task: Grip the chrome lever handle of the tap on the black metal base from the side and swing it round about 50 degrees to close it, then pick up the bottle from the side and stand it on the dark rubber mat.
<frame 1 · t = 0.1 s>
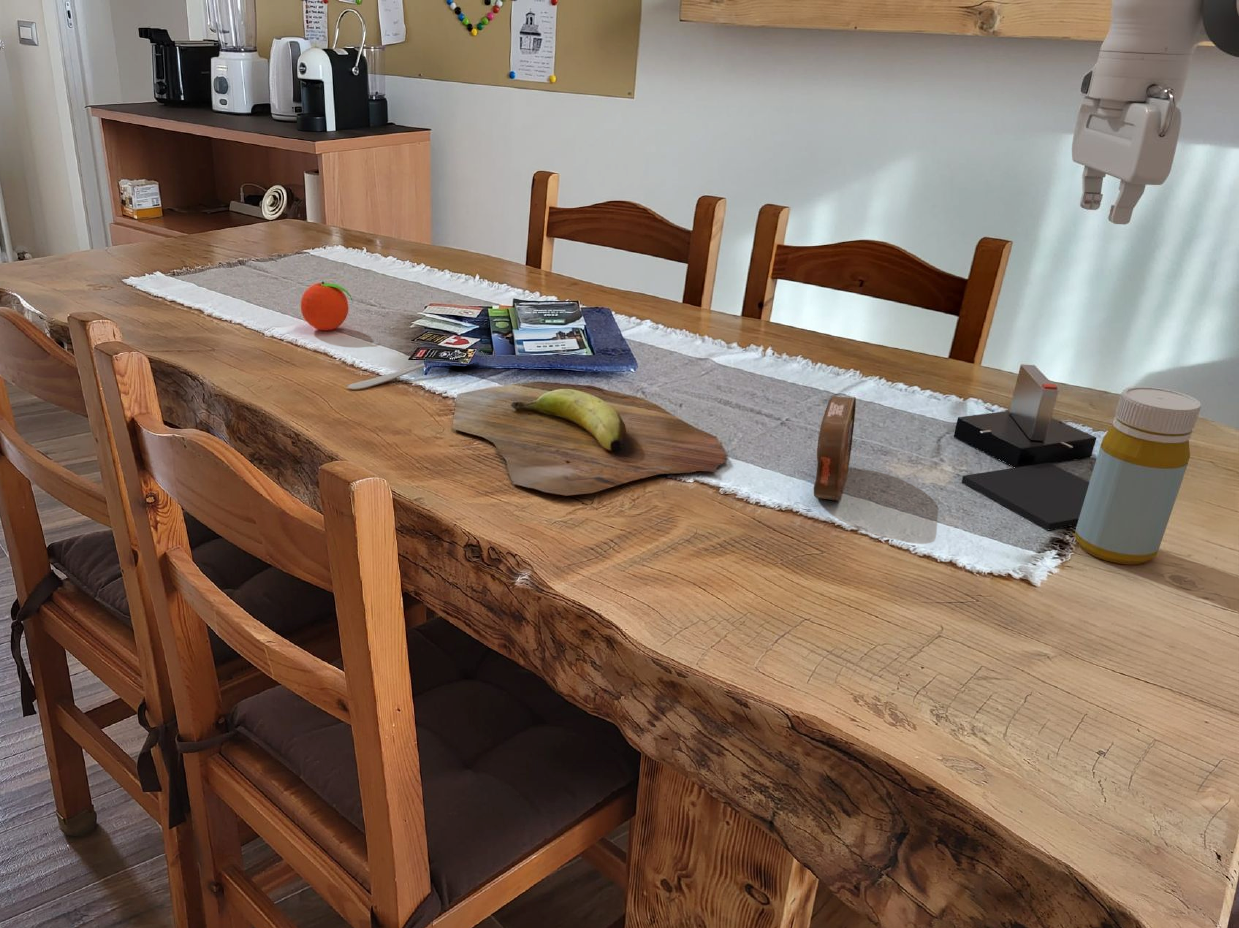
hand: (1102, 216, 117), 25 cm above the table, tool pointing down, fingers open, 8 cm apart
tap lever: (1032, 400, 117), point 6 cm above the table, hinge at 61.0°
tin: (828, 485, 109), on the table
mat: (1047, 497, 107), on the table
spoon: (418, 376, 136), on the table
cutting board: (574, 433, 120), on the table
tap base: (1020, 447, 120), on the table
bottle: (1112, 551, 97), on the table
clementine: (329, 331, 154), on the table
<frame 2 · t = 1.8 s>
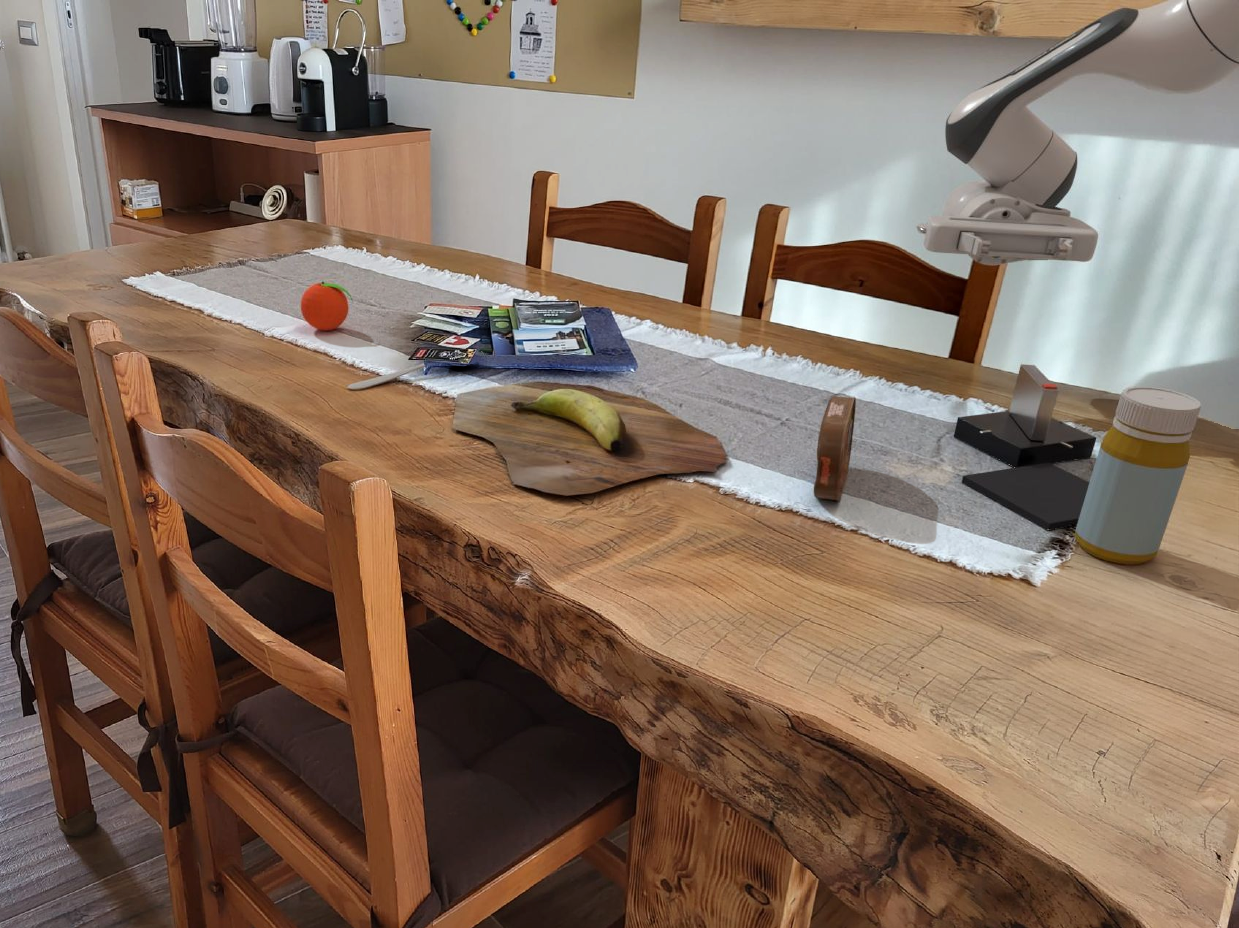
hand: (1024, 251, 125), 19 cm above the table, tool horizontal, fingers open, 8 cm apart
nothing on the table moved.
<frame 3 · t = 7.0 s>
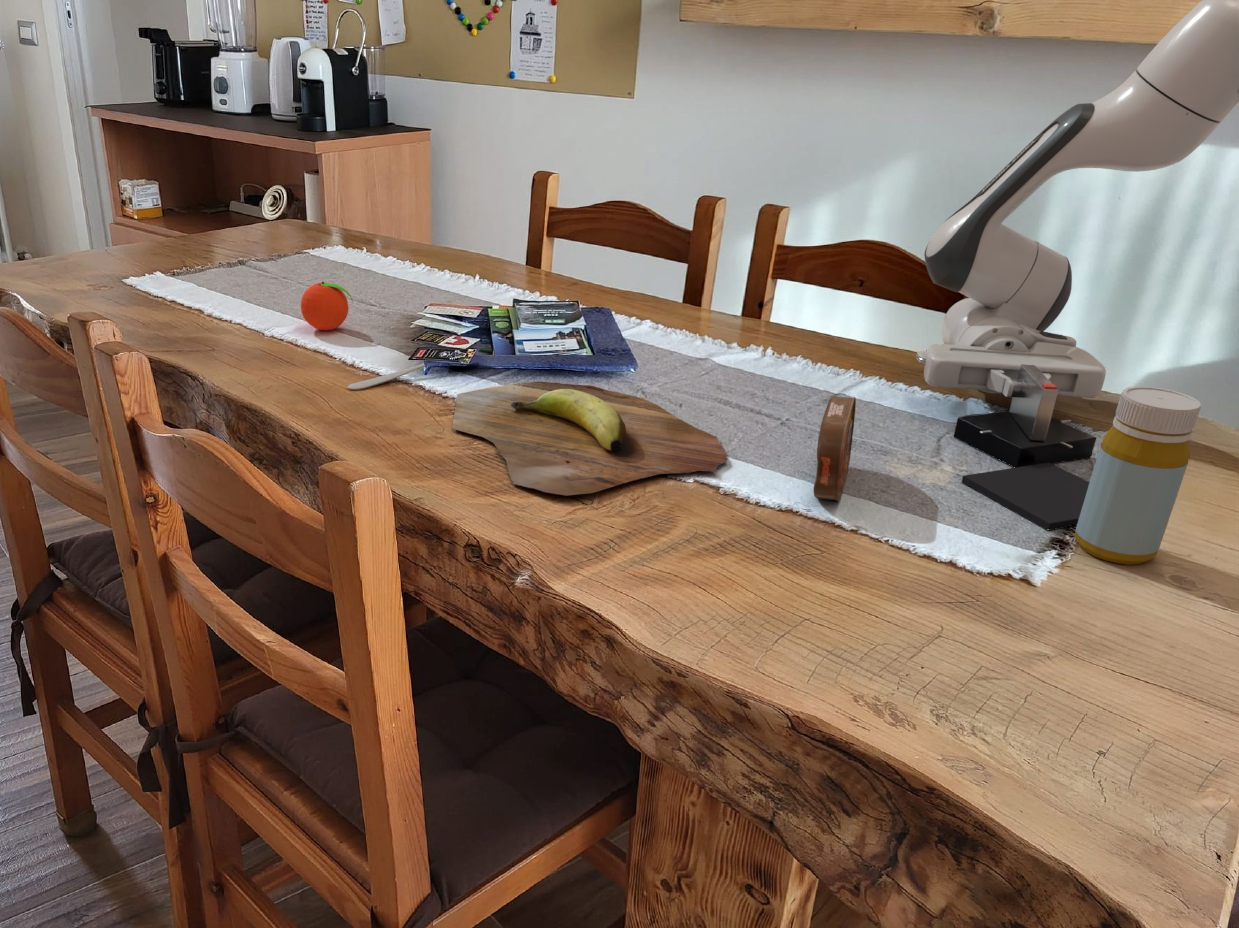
hand: (1028, 392, 119), 6 cm above the table, tool horizontal, fingers closed on tap lever, 2 cm apart
tap lever: (1032, 400, 117), point 6 cm above the table, hinge at 60.8°, touching gripper
everything else where it was.
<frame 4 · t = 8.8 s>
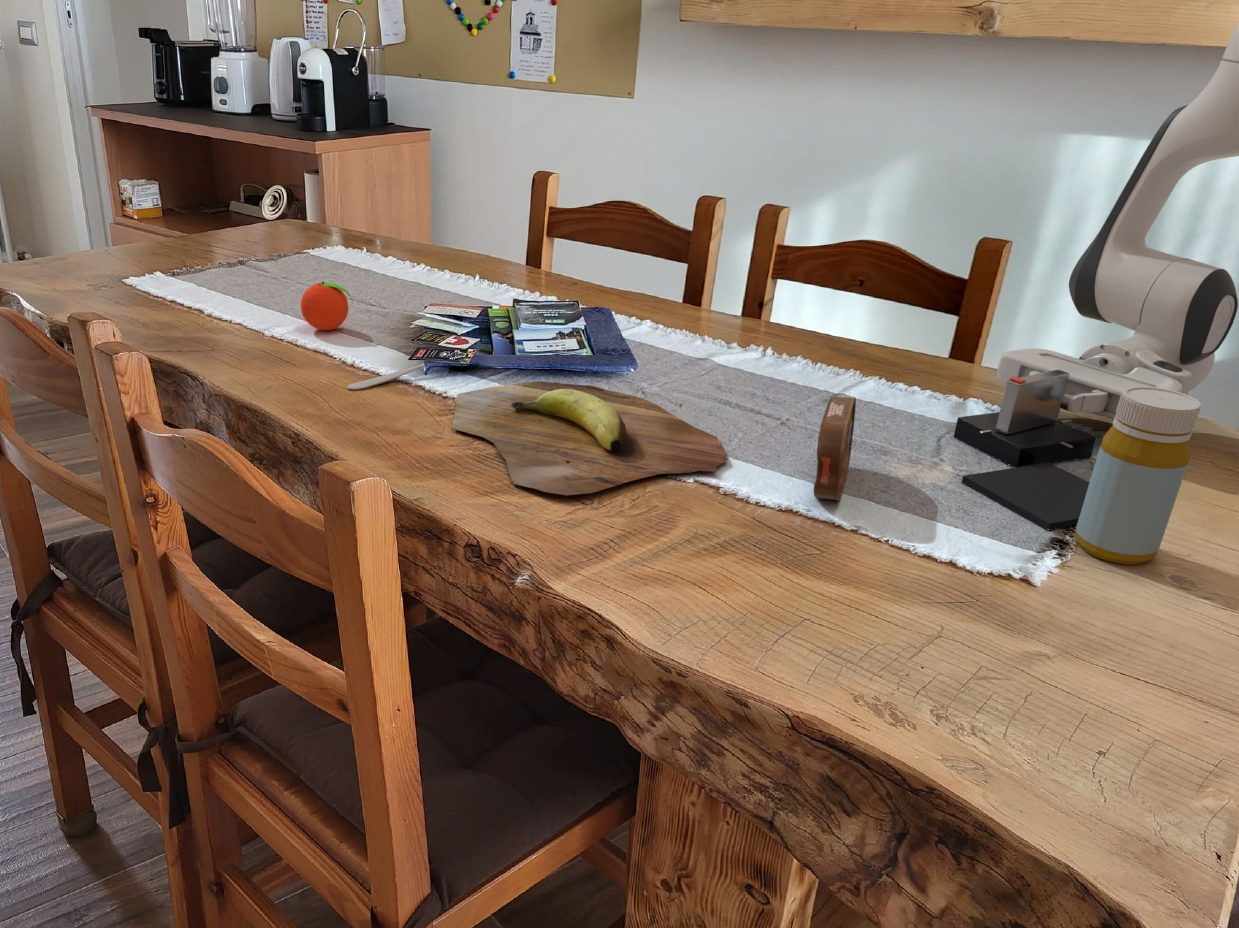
hand: (1044, 396, 118), 6 cm above the table, tool horizontal, fingers open, 4 cm apart
tap lever: (1032, 400, 117), point 6 cm above the table, hinge at 9.6°
everything else where it was.
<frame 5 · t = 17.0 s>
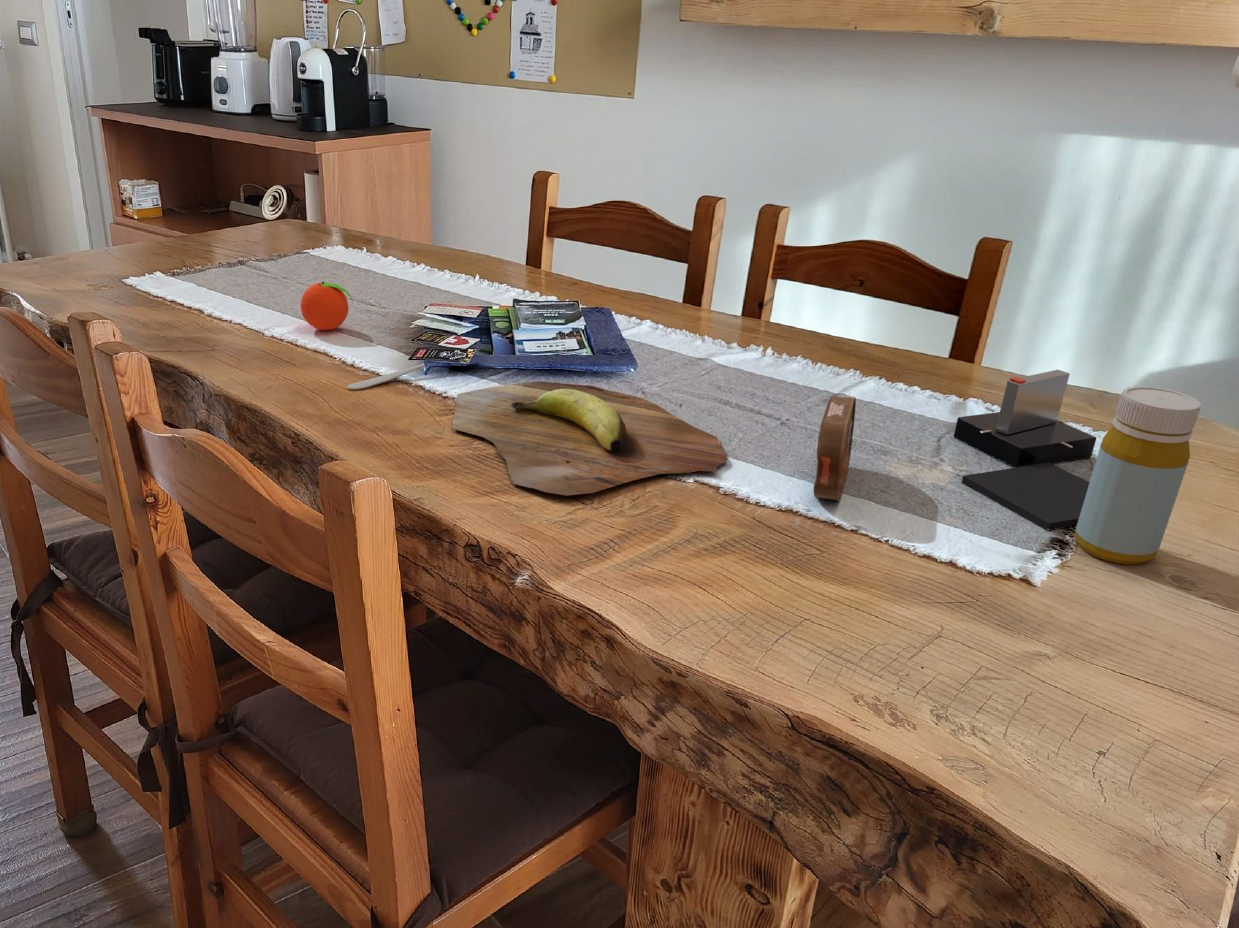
nothing on the table moved.
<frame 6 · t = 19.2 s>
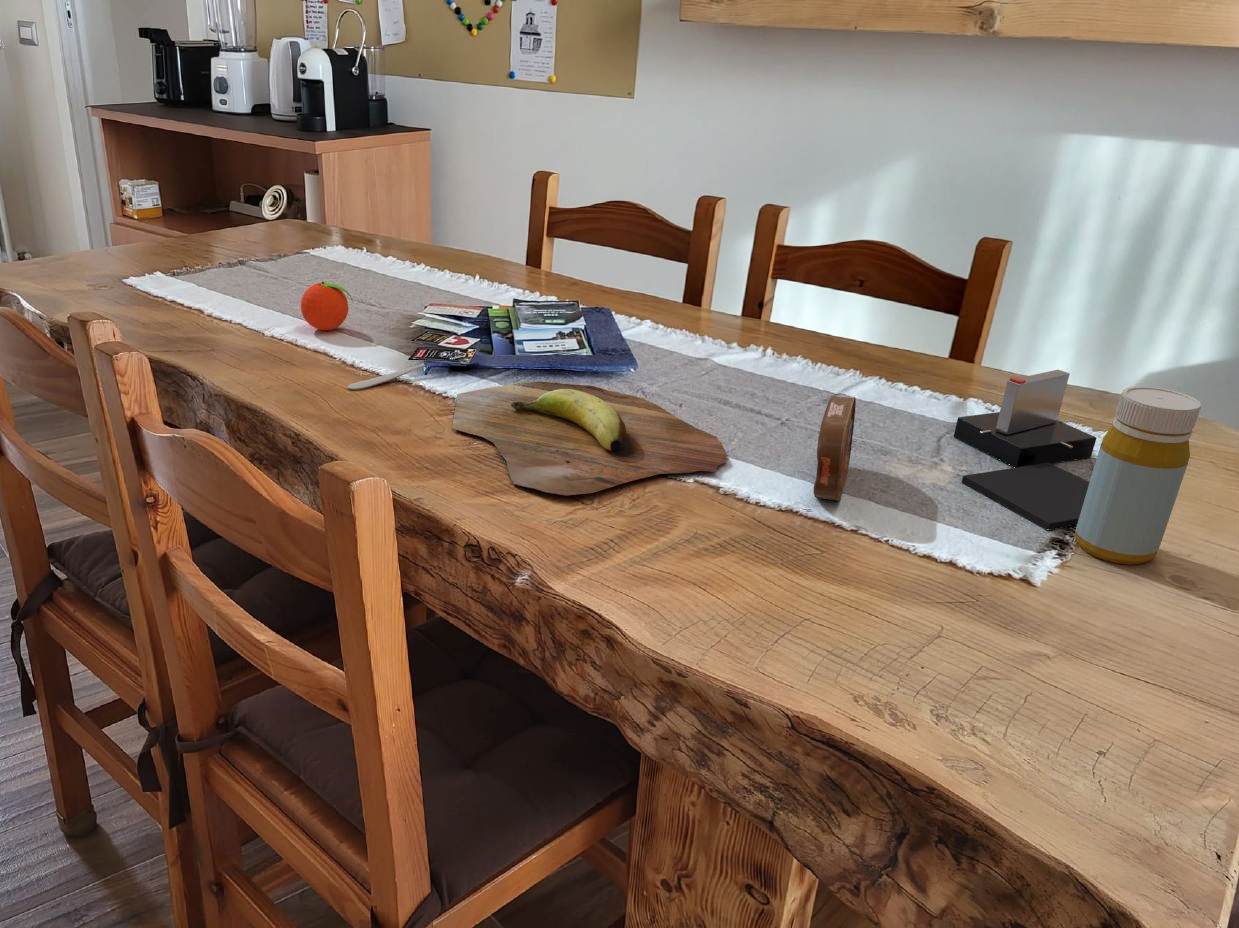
nothing on the table moved.
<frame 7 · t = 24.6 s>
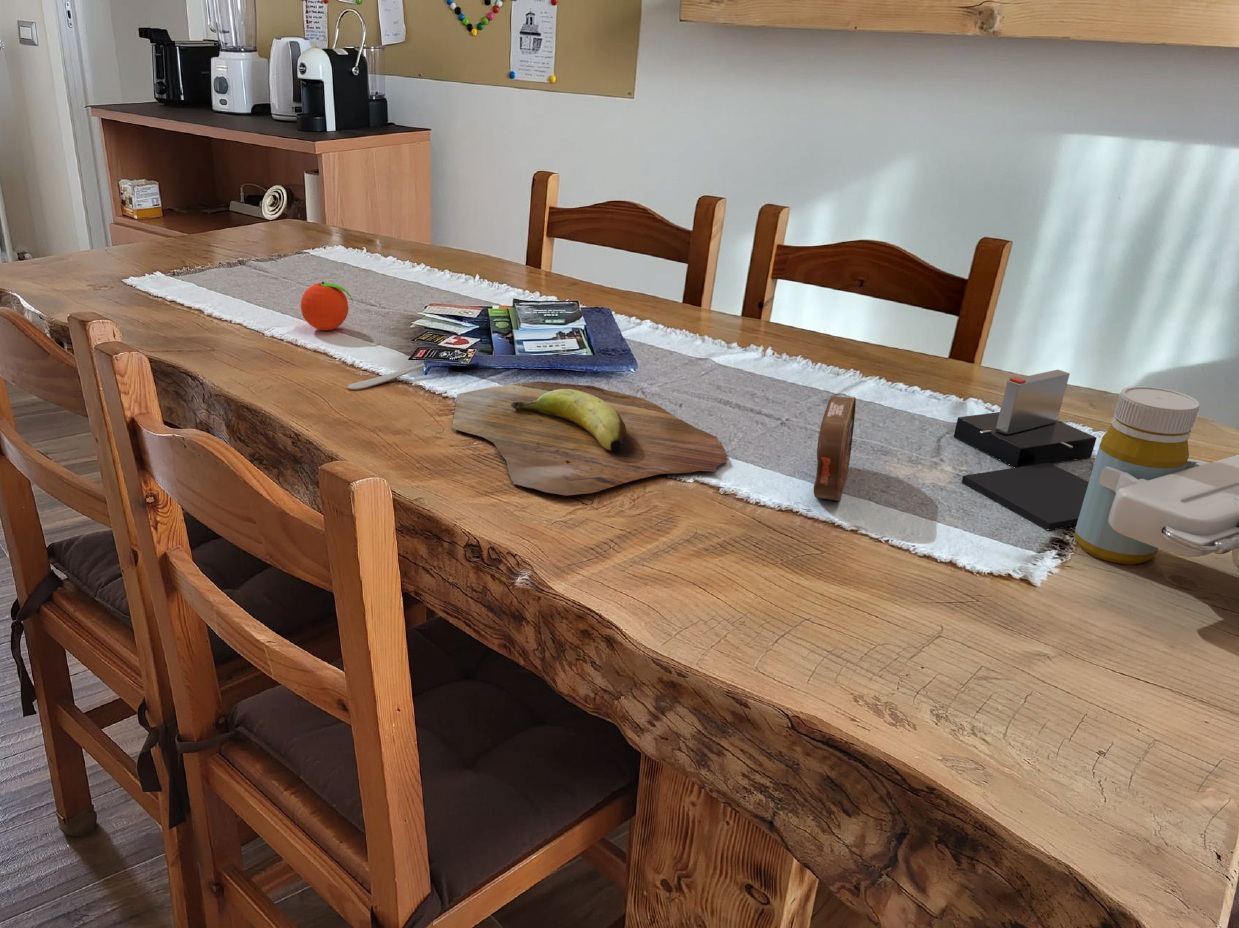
hand: (1129, 467, 94), 8 cm above the table, tool horizontal, fingers closed on bottle, 5 cm apart
bottle: (1112, 550, 97), on the table, touching gripper
everything else where it was.
when the fingers open (9 cm above the table, at t = 31.2 s): bottle stays where it is, resting on mat.
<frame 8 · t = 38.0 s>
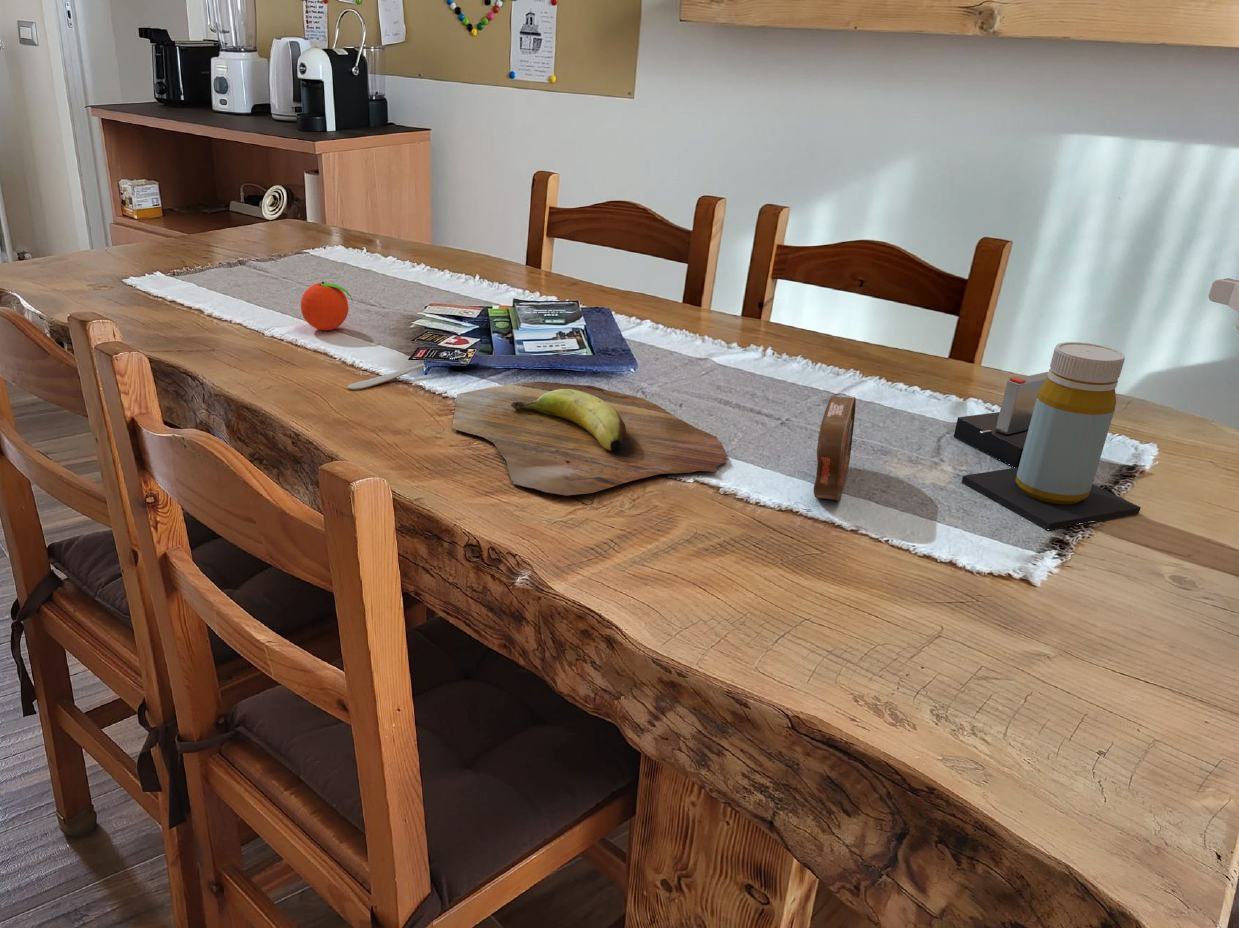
bottle: (1049, 493, 107), point 1 cm above the table, touching mat
everything else where it was.
at the end: tap lever at +10° (first picture: +61°); bottle inside the target area on the mat (0.4 cm from its centre), point 0.6 cm above the mat's base; bottle tilted 0° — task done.
